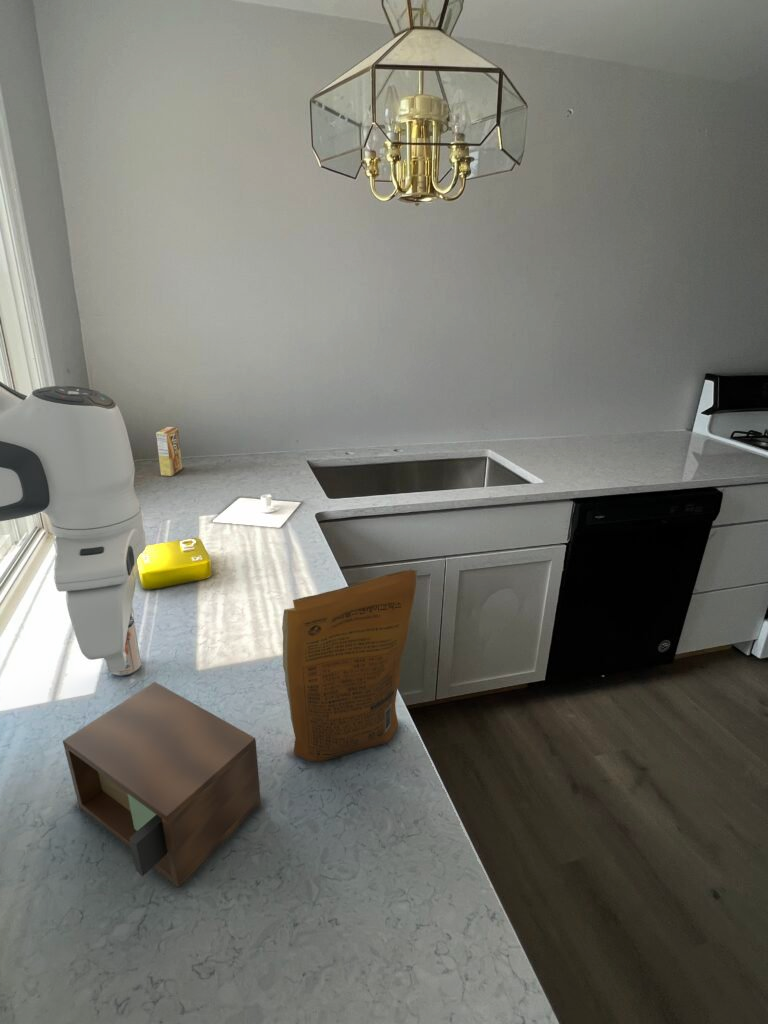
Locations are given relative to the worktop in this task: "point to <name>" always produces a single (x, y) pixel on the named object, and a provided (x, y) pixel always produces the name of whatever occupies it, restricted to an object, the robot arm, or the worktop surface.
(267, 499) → the teacup and saucer
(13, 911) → the worktop surface
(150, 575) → the yellow box
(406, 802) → the worktop surface
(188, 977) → the worktop surface
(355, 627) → the pancake mix bag
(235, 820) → the brown wooden box
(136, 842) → the sliding door
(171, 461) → the candy box
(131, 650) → the beer can
